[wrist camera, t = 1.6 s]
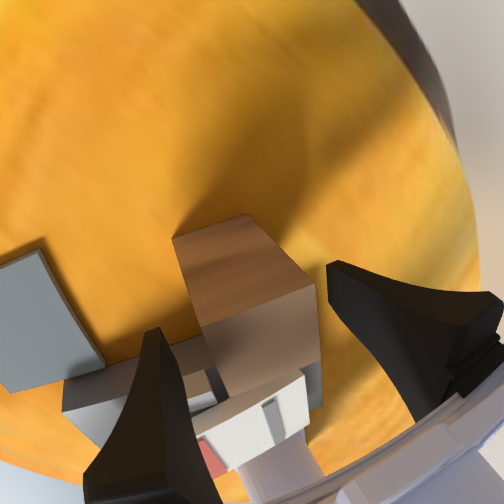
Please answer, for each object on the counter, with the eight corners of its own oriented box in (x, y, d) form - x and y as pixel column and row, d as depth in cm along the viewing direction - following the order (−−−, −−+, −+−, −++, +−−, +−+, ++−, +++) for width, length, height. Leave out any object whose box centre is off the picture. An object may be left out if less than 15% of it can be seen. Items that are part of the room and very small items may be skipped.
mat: (105, 360, 17) (105, 367, 17) (11, 387, 16) (10, 393, 15) (40, 247, 13) (37, 253, 13) (-57, 294, 12) (-61, 299, 11)
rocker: (299, 412, 21) (311, 425, 20) (151, 489, 17) (158, 505, 15) (292, 362, 18) (306, 377, 17) (105, 455, 13) (111, 475, 12)
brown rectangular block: (260, 276, 19) (320, 359, 13) (193, 301, 18) (230, 397, 12) (246, 213, 17) (315, 283, 11) (171, 238, 16) (200, 327, 10)
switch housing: (306, 381, 25) (332, 420, 21) (126, 444, 21) (133, 489, 18) (296, 296, 20) (332, 340, 16) (63, 378, 17) (59, 433, 13)
